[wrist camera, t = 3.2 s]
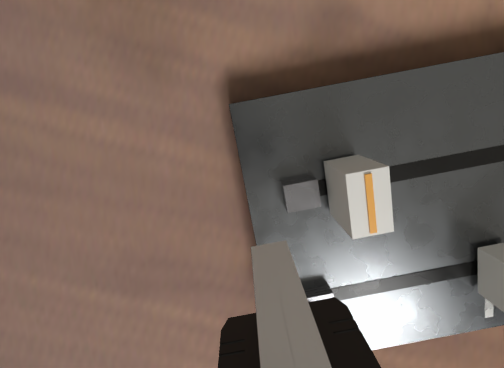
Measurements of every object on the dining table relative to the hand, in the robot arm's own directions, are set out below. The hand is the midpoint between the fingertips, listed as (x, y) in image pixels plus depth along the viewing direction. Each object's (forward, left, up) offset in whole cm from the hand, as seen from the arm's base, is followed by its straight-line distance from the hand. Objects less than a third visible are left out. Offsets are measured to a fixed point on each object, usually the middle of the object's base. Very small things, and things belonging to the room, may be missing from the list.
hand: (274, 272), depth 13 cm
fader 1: (0, +6, -9) cm, 11 cm away
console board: (+4, +14, -12) cm, 19 cm away
